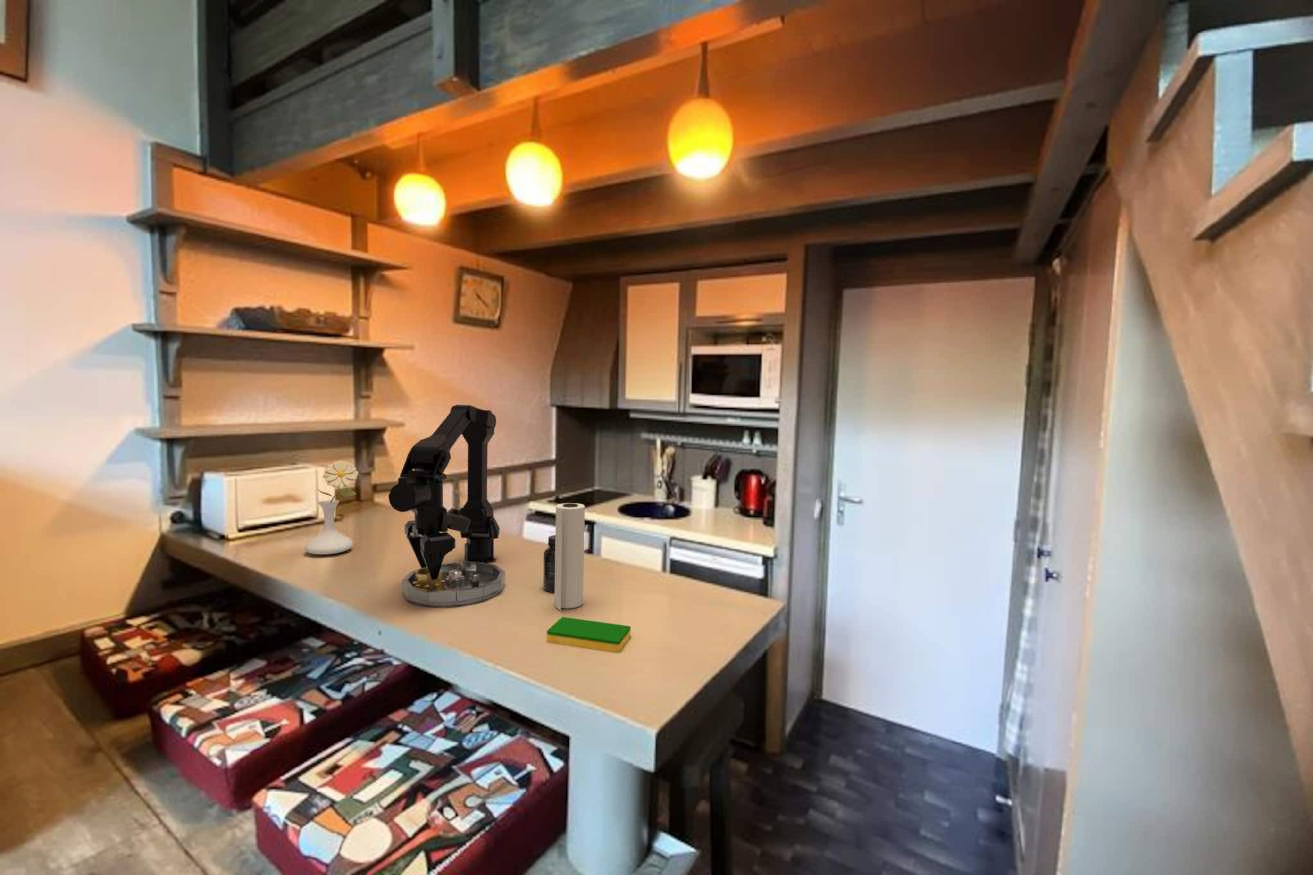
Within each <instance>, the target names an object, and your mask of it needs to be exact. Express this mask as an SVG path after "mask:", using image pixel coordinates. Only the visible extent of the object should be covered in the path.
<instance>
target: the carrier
mask: <svg viewBox="0 0 1313 875" xmlns="http://www.w3.org/2000/svg"><path fill="white" fill-rule="evenodd" d="M426 568H427V567H426ZM420 569H423V568H421V567H420V568H418V569H416V570H413V571H410V572H409V573H408V574H406V576H405V577H404V578H403V579H402V580H401V590H402V591H403V598H404V599H405V601H407V602H409V603H411V604H413V605H415V606H416V605H417V606H420V607H424V608H425V607H427V608H457V607H463V606H469V605H474V604H478V603H482V602H485V601H489V600H491V599H492V598H494V597H497V596H498V595H500V594H501V593H502V591H504V586H505V585H504V584H505V582H506V571H505V570H504V569H503V568H501V567H499V566H498V565H496V564H492V563H488V562H485V563H482V562H468V561H451V562H444V563H443V562H442V565H441V570H442V578H443V580H445V588H444V589H441V591H430V590H425V589H421V588H417V587H413V582H416V571H418V570H420Z"/></svg>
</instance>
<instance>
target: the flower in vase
mask: <svg viewBox="0 0 1313 875" xmlns="http://www.w3.org/2000/svg"><path fill="white" fill-rule="evenodd" d="M322 474H323V476H322V478H323V479H324V482H326V485H328V486H330V487H333V488H337V489H338V490H337V492H336V493H335V494H334V495H332V494H330V493H328V492H325V491H323V490H322V491H321V490H320V489H318V492H319V493H321V494H323V495H327V496H330V497H332V498H331V499H326V500H320V501H317V504H318V505H319V506H320V507H321V509H322V512H323V519H324V520H323V521H324V524H323V528H322V530H321V531H320V532H319V533H318V534H316V535H315V536H314V537H313V538H312V539H310V540H309V541H308V542H307V543H306V545H305V547H304V550H305V551H306V552H307V553H309V554H313V555H333V554H338V553H339V554H340V553H342V552H345V551H348V550H350V549H351V548H353V546H354V542H353V540H352V539H351V538H350V537H348V536H347V535H345V534H344V533H342V532H341V531H340V530H338V529H337V528H336V526H335V513H336V508H337V506H338V505H339V503H340V500H338V499H337V500H336V499H335V497H336V496H337V495H338V494H340V495H341V496H342V497H344V498H348V497H353V496H355V495H357V493H356V492H355V491H354V490H353V489H352V488H350V487H348V486H351V485H354V484H355V483H356V480H357V478H358V475H359V471H358V470H357V467H355V464H353V463H352V462H348V461H347V460H344V461H343V460H338V461H334V462H333V463H331V464H327V466H326V468H325V469H324V472H323V473H322Z"/></svg>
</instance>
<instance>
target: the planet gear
mask: <svg viewBox="0 0 1313 875" xmlns="http://www.w3.org/2000/svg"><path fill="white" fill-rule="evenodd" d="M419 569H420V570H418V569H417V570H418V571H416V582H413V587H417V588H421V589H425V590H430V591H441V589H444V588H445V580H443V578H442V570H441V569H440V572H439V575H438V579H435V580H432V579H431V576H430V574H429V571H428V569H427V568H423V569H421V568H419Z"/></svg>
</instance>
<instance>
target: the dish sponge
mask: <svg viewBox="0 0 1313 875" xmlns="http://www.w3.org/2000/svg"><path fill="white" fill-rule="evenodd" d="M631 628H632V627H631V626H630V625H624V624H618V623H617V624H616V623H610V622H603V621H602V622H601V621H596V620H587V619H581V618H574V617H565V616H562V617H560V618H559V619H558V620H557V621H555V623H554V624H552V625H551V626H550V627H549V628H548V629H547V630H546V642H547V643H551V644H552V643H553V644H560V645H566V646H572V647H578V648H586V649H593V650H598V649H600V650H599V651H604V650H606V652H611V651H613V652H612V653H620V652H621V650H622V649H623V648H622V647H624V646H625V645H626V644H627V642H628V640H629V639H630V638H631V631H632V630H631ZM619 651H620V652H619Z"/></svg>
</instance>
